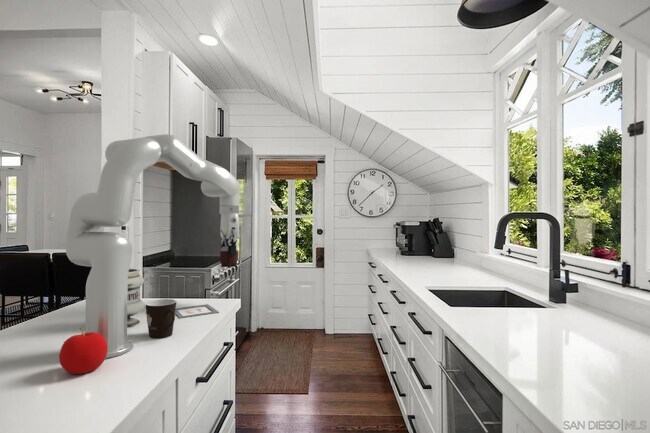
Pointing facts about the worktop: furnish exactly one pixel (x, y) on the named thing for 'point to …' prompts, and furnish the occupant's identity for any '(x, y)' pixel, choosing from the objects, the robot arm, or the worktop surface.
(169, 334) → the coffee mug
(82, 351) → the fruit
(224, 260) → the mate gourd
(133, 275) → the apothecary jar
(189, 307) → the gray square frame
